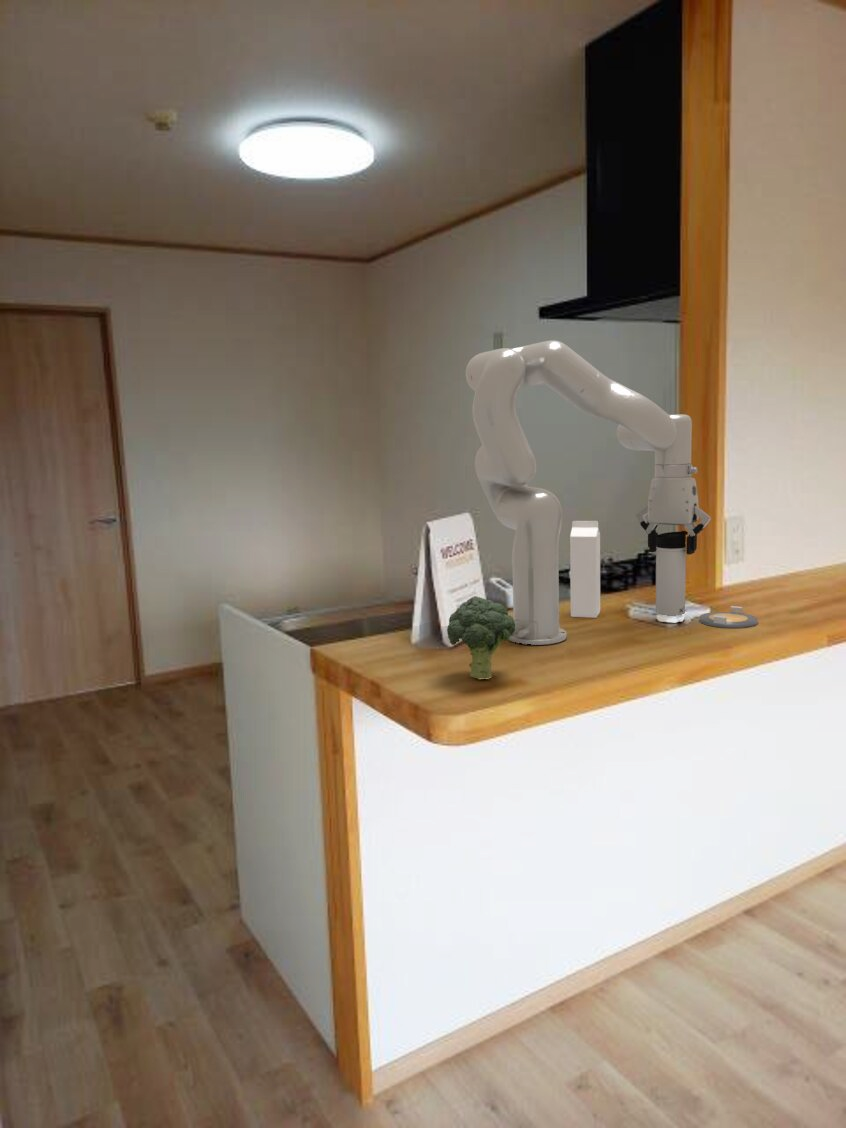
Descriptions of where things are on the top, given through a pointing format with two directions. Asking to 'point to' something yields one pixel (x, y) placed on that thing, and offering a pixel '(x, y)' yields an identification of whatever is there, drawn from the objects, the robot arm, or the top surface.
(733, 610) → the base
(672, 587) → the travel mug
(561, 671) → the top surface
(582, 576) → the milk
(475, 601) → the vegetable
